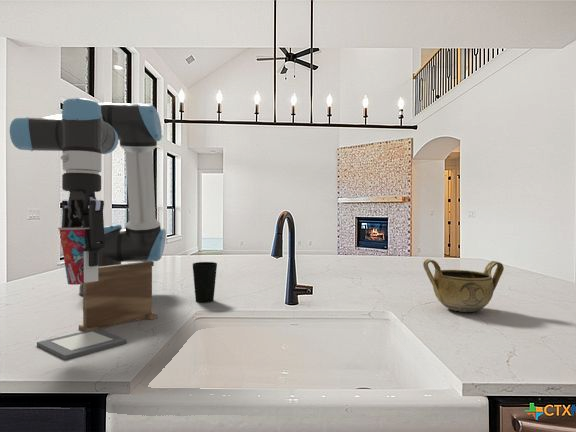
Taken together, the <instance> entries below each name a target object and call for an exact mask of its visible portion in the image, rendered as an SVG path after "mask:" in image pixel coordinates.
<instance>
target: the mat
mask: <svg viewBox="0 0 576 432" xmlns="http://www.w3.org/2000/svg"><path fill="white" fill-rule="evenodd" d="M127 340H128V339H126V338H124V337H121V336H118V335H117V334H116V335H115V334H113V333H110V332H108V331H104V330H102V329H95V330H88V331H80V332H75V333H72V334H71V333H70V334H67V335H62V336H57V337H52V338H48V339H45V340H40V341H37V342H36V347H38V348H40V349H42V350H44V351H46V352H49V353H51V354H53V355H55V356H57V357H58V358H61V359H63V360H69V359H73V358H76V357H77V358H78V357H80V356H84V355H88V354H91V353H92V354H93V353H95V352H98V351H102V350H107V349H109V348H110V349H111V348H113V347H116V346H120V345H124V344H127Z"/></svg>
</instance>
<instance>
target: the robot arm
mask: <svg viewBox="0 0 576 432" xmlns="http://www.w3.org/2000/svg"><path fill="white" fill-rule="evenodd" d="M61 109H62V110H61V112H62V113H59V114H53V115H48V116H43V117H29V116H27V117H16V118H14V119H13V120H12V121H11V123H10V126H9V136H10V140H11V143H12V145H13V146H14V148H16V149H18V150H20V151H21V150H22V151H30V152H33V151H39V152H40V151H44V152H45V151H46V152H48V151H52V152H53V151H54V152H59V151H61V152H62V155H61V156H60V159H61V160H62V170H63V171H65V172H64V173H62V175H61V177H62V178H61V180H62V182H61V184H62V185H61V189H62V190H63V191H65V192H69V196H68V200H61V211H62V214H61V215H62V216H61V217H62V218H61V228H63V227H82V228H88V227H90V229H85V245H86V248H84V249H83V251H84V283H88V282H95V281H98V267H100V266H109V265H119V264H122V262H123V263H124V262H127V263H137V262H146V261H153V262H159V261H160V260H161V259H162V256H163V254H164V252H165V251H164V250H165V244H166V239H167V238H166V237H167V235H166V234H167V233H166V229H165V228H161V222H160V221H158V219H156V201H155V199H156V198H155V195H156V194H155V177H154V155H153V152H154V150H155V149H156V148H157V147H158V142H160V141H161V140H162V137H163V135H162V125H161V119H160V116H159V113H158V109H157V108H156V107H155V106H154V105H152V104H144V103H123V102H121V103H119V102H118V103H117V102H115V103H113V102H103V103H102V102H101V103H99V102H98V101H96V100H92V99H87V98H78V97H75V98H74V97H73V98H67V99H65V100H64V101H63V103H62V108H61ZM118 144H119V146H120V147H121V149H123V150H124V155H125V165H126V166H125V167H126V183H127V186H126V187H127V197H128V198H127V200H128V211H129V212H128V215H129V220H128V222H126V224H125V226H124V227H125V228H123V226H122V225H121V224H115V225H106V226H105V224H104V209H105V207H104V206H105V202H104V200H102V199H97V198H96V193H98V192H101V191H102V176H101V174H99V173H101V172H102V155H107V154H111V153H112V152H114V151H115V150H116V148H117V146H118ZM60 244H61V245H62V243H61V242H60ZM78 291H79V295H80V296H81V295H82V296H83V284H79V290H78Z"/></svg>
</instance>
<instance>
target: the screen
mask: <svg viewBox="0 0 576 432" xmlns="http://www.w3.org/2000/svg"><path fill="white" fill-rule="evenodd" d="M154 262H155V261H146V262H127V263H121V264H119V265H109V266H100V267H98V281H95V282H93V283H89V284H83V295H82V309H83V310H82V322H83V323H81V324H78V330H80V331H81V332H83V331H88V330H95V329H99V330H102V329H105V328H109V327H113V326H116V325H117V326H119V325H122V323H123V324H126V323H129V322H134V321H140V320H143V319H148V320H154V319H158V314H157V313H153V267H154V266H155V263H154Z"/></svg>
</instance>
